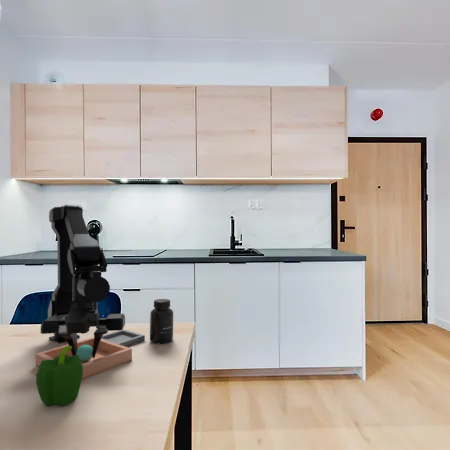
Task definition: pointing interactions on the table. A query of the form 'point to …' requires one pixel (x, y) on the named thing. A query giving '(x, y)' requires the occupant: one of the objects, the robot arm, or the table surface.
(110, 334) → the tray
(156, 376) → the table surface
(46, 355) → the dish
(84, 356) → the ball
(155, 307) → the supplement bottle
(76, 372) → the bell pepper
